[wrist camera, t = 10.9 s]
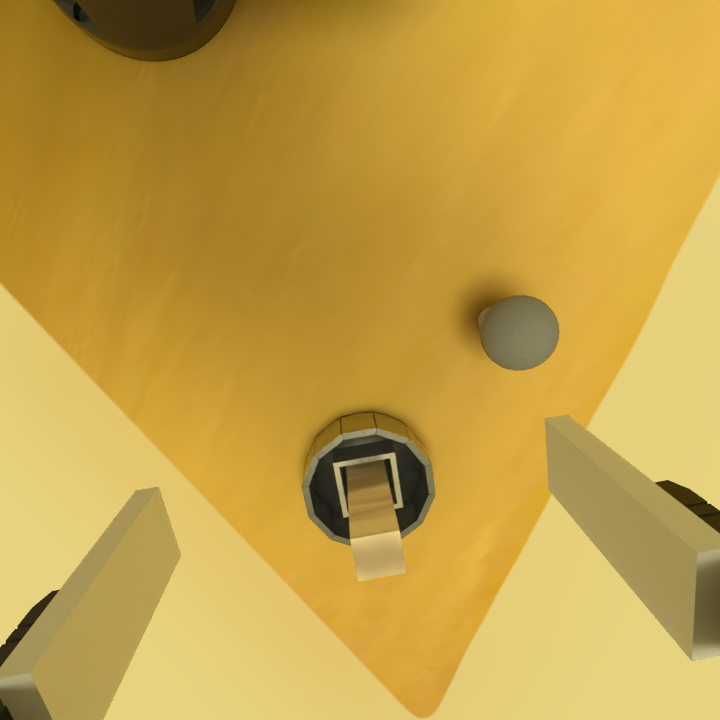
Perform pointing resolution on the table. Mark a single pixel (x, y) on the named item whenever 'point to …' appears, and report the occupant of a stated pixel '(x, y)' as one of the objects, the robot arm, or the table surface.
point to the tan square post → (373, 522)
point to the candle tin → (360, 445)
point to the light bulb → (518, 332)
